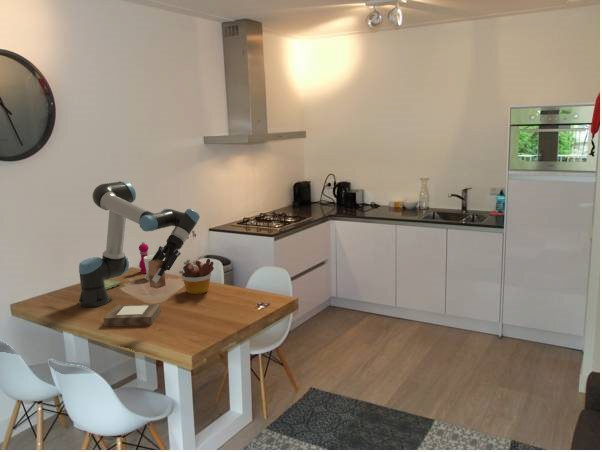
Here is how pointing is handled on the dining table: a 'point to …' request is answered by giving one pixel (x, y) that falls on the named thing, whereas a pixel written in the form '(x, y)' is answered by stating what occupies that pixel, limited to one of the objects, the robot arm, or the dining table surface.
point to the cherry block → (153, 269)
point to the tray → (132, 315)
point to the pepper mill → (143, 252)
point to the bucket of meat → (197, 276)
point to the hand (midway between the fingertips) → (150, 280)
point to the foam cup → (146, 259)
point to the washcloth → (110, 283)
